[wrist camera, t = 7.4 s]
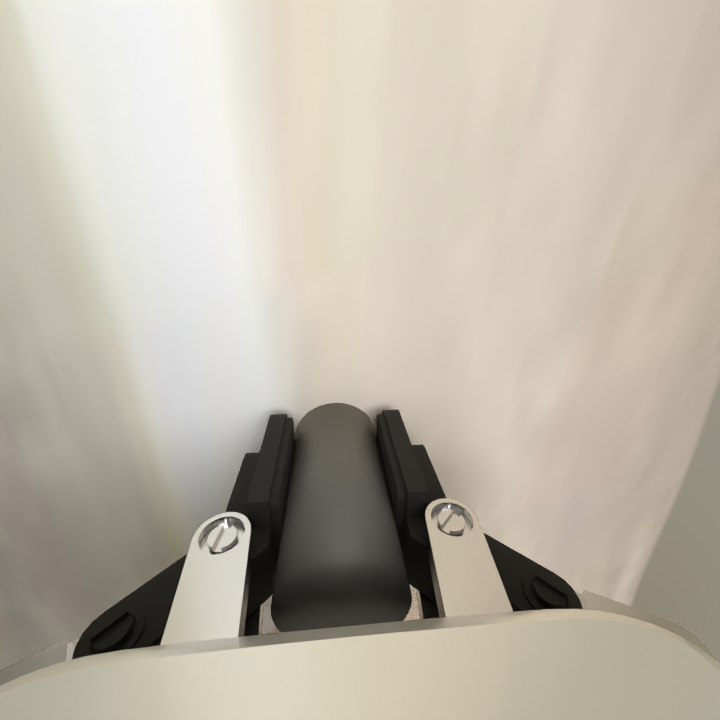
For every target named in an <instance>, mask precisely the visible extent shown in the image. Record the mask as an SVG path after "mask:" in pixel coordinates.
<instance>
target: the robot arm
mask: <svg viewBox="0 0 720 720" xmlns="http://www.w3.org/2000/svg"><path fill="white" fill-rule="evenodd" d="M376 438H377V442H378V447H379V451H380V456H381V460H382V465H383V469H384V474H385V478H386V483H387V487H388V492H389V496H390V501H391V505H392V510H393V514H394V518H395V523H396V527H397V532H398V536H399V541H400V545H401V550H402V554H403V559H404V563H405V568H406V572H407V577H408V581H409V584H410V585H412V586H413V587H414V588H416V595H417V602H418V609H419V616H420V619H419V620H408V621H397V622H387V623H376V624H365V625H355V626H344V627H334V628H324V629H313V630H303V631H292V632H282V633H272V634H263V635H262V623H263V603H264V602H265V601H266V600H267V599H268V598H269V597H270V596H271V595H272V594H273V590H274V583H275V576H276V569H277V562H278V554H279V547H280V540H281V534H282V528H283V520H284V513H285V506H286V499H287V492H288V485H289V478H290V471H291V464H292V457H293V450H294V442H295V440H294V428H293V419H292V418H287V415H286V414H279V415H270V418H269V421H268V425H267V428H266V432H265V436H264V439H263V443H262V446H261V450H260V453H247V454H245V457H244V459H243V462H242V465H241V468H240V471H239V474H238V477H237V480H236V483H235V486H234V489H233V492H232V495H231V498H230V500H229V503H228V506H227V509H226V512H225V513H221V514H217V515H215V516H213V517H211V518H209V519H208V520H207V521H205V522H204V523H203V524H201V526H200V527H199V528H198V529H197V530H196V532H195V534H194V536H193V538H192V541H191V544H190V547H189V551H188V554H186V555H185V556H184V557H182V558H181V559H179V560H178V561H177V562H175V563H174V564H172V565H171V566H169V567H168V568H167V569H165V570H164V571H162V572H161V573H159V574H158V575H157V576H155V577H154V578H152V579H151V580H149V581H148V582H147V583H145V584H144V585H142V586H141V587H140V588H138V589H137V590H135V591H134V592H132V593H131V594H130V595H128V596H127V597H125V598H124V599H122V600H121V601H120V602H118V603H117V604H115V605H114V606H112V607H111V608H110V609H108V610H107V611H105V612H104V613H103V614H102V615H100V616H99V617H98V618H97V619H96V620H94V621H93V622H92V623H91V624H90V626H89V627H88V628H87V629H86V630H85V631H84V632H83V634H82V636H81V637H79V638H77V639H75V640H73V641H71V640H70V639H69V637H68V638H66V639H64V640H62V641H60V642H58V643H56V644H54V645H52V646H50V647H47V648H45V649H43V650H41V651H39V652H37V653H35V654H33V655H31V656H29V657H27V658H25V659H23V660H21V661H19V662H17V663H15V664H13V665H11V666H9V667H7V668H5V669H3V670H1V671H0V720H720V664H719V663H718V662H717V660H716V659H715V657H714V655H713V654H712V652H711V651H710V649H709V648H708V647H707V646H706V645H705V644H704V643H703V642H702V641H701V640H700V639H699V638H698V637H697V636H696V635H694V634H693V633H692V632H690V631H689V630H687V629H686V628H685V627H683V626H681V625H679V624H677V623H675V622H673V621H670V620H667V619H665V618H662V617H659V616H656V615H653V614H650V613H647V612H645V611H642V610H639V609H636V608H633V607H631V606H628V605H625V604H622V603H619V602H616V601H614V600H611V599H608V598H605V597H602V596H599V595H596V594H594V593H591V592H588V591H585V590H583V593H582V594H579V593H577V592H575V591H574V590H573V588H572V587H571V586H570V585H569V584H568V583H567V582H566V581H565V580H563V579H562V578H561V577H559V576H558V575H556V574H555V573H553V572H551V571H550V570H548V569H546V568H544V567H543V566H541V565H539V564H537V563H536V562H534V561H532V560H530V559H529V558H527V557H525V556H523V555H522V554H520V553H518V552H516V551H515V550H513V549H511V548H509V547H508V546H506V545H504V544H502V543H501V542H499V541H497V540H495V539H493V538H492V537H490V536H488V535H486V534H485V533H483V531H482V528H481V525H480V523H479V520H478V518H477V516H476V514H475V513H474V511H473V510H472V509H471V508H470V507H469V506H467V505H465V504H464V503H462V502H460V501H457V500H454V499H448V498H446V497H445V494H444V492H443V490H442V487H441V485H440V482H439V480H438V478H437V475H436V473H435V471H434V468H433V466H432V463H431V461H430V459H429V456H428V454H427V452H426V449H425V447H424V446H423V445H411V442H410V440H409V437H408V434H407V432H406V429H405V426H404V423H403V421H402V418H401V415H400V413H399V410H383V414H380V415H377V436H376Z"/></svg>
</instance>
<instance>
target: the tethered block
mask: <svg viewBox="0 0 720 720" xmlns="http://www.w3.org/2000/svg"><path fill="white" fill-rule="evenodd" d="M411 602H412V595H411V590H410V586H409V581H408V577H407V572H406V568H405V563H404V559H403V554H402V550H401V545H400V541H399V536H398V532H397V527H396V523H395V518H394V514H393V510H392V505H391V501H390V496H389V492H388V487H387V483H386V478H385V474H384V469H383V465H382V460H381V456H380V451H379V447H378V442H377V438H376V434H375V429H374V426H373V423H372V421H371V420H370V418H369V417H368V416H367V415H366V414H365V413H364V412H363V411H361V410H360V409H358V408H356V407H354V406H351V405H347V404H341V403H333V404H326V405H323V406H320V407H317V408H315V409H313V410H312V411H310V412H309V413H308V414H306V415H305V416H304V417H303V419H302V420H301V421H300V423H299V425H298V427H297V430H296V435H295V442H294V450H293V457H292V464H291V471H290V478H289V485H288V492H287V499H286V506H285V513H284V520H283V528H282V534H281V540H280V547H279V554H278V562H277V569H276V576H275V583H274V590H273V597H272V604H271V616H272V620H273V622H274V624H275V626H276V627H277V628H278V630H279V631H280V632H279V633H282V632H292V631H303V630H313V629H324V628H334V627H344V626H355V625H365V624H376V623H387V622H397V621H403V620H404V619H405V617H406V616H407V614H408V612H409V610H410V607H411Z"/></svg>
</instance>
